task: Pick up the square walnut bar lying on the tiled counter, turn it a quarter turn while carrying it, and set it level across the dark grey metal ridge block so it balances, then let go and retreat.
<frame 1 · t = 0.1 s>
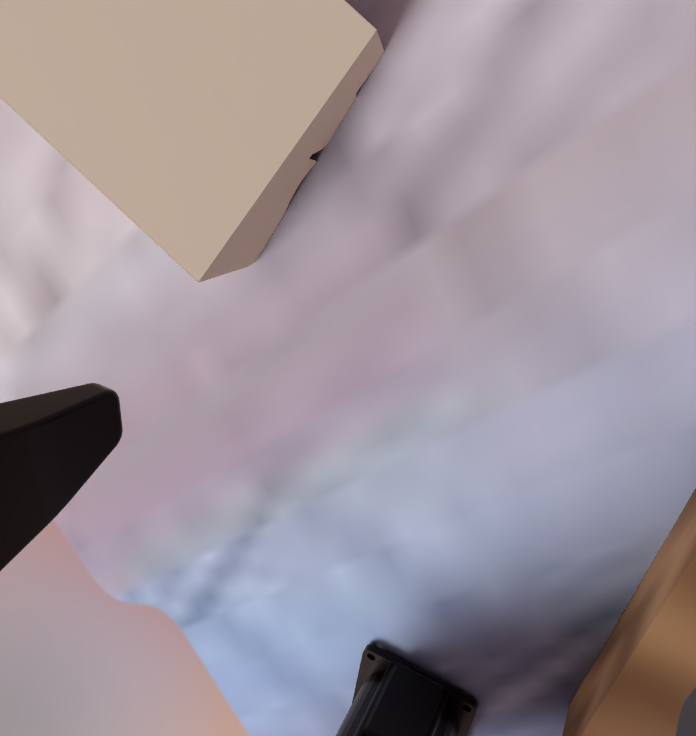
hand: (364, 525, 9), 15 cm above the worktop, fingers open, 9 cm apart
walnut bar: (682, 619, 25), on the worktop
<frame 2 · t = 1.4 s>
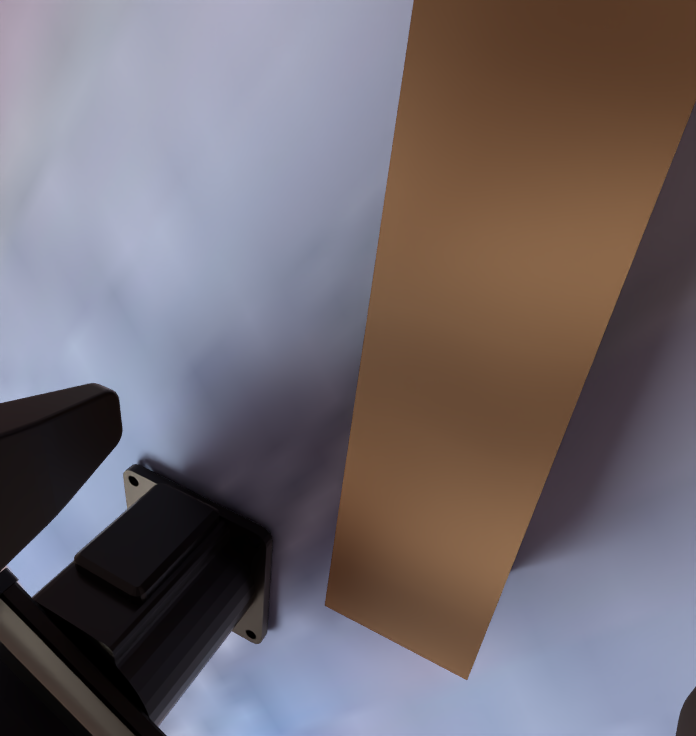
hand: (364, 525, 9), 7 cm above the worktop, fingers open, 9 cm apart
walnut bar: (513, 306, 15), on the worktop
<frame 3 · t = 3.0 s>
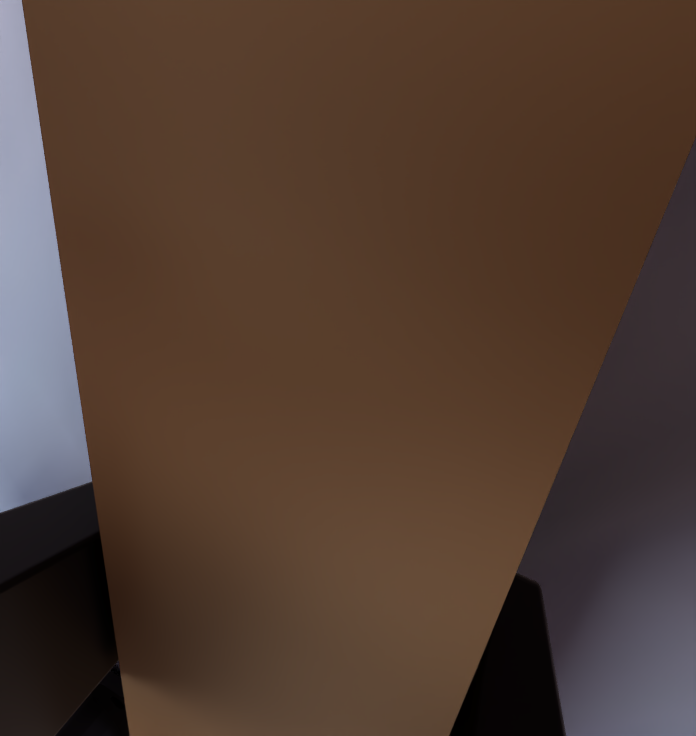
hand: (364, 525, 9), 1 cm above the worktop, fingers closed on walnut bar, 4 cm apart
walnut bar: (398, 475, 10), on the worktop, touching gripper
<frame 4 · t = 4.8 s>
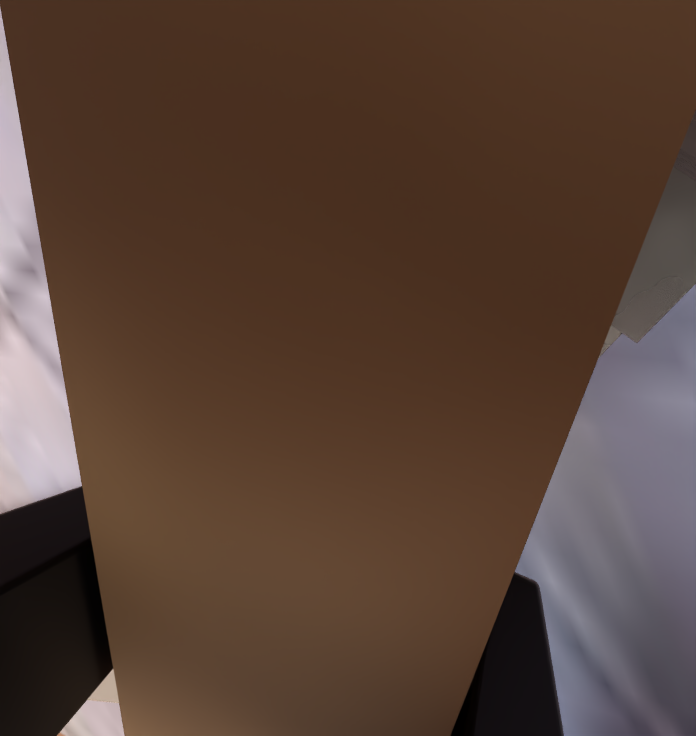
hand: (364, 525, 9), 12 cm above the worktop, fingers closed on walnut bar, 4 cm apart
ridge block: (533, 108, 16), on the worktop
walnut bar: (396, 480, 10), point 11 cm above the worktop, touching gripper
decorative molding: (44, 590, 46), on the worktop
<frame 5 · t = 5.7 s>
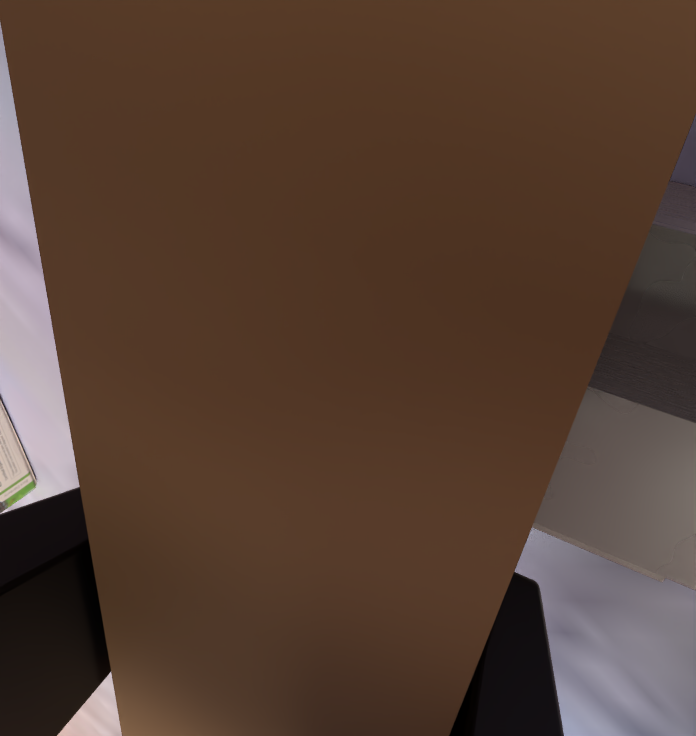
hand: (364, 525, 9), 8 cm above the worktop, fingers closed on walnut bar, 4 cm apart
ridge block: (507, 303, 15), on the worktop
walnut bar: (395, 479, 10), point 7 cm above the worktop, touching gripper
when the fingers open (7 cm above the worktop, at t = 6.6 s): walnut bar stays where it is, resting on ridge block.
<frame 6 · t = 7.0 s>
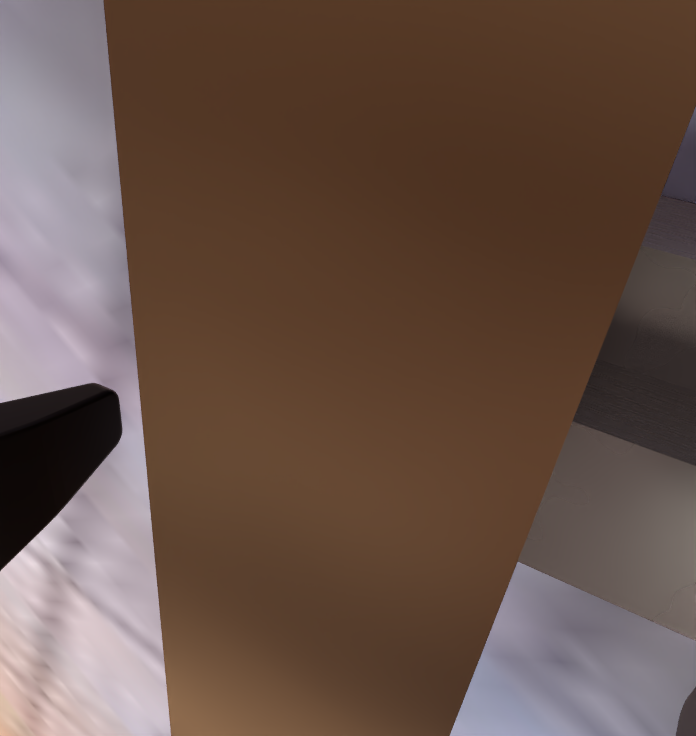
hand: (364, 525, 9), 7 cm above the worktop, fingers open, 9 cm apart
ridge block: (498, 322, 14), on the worktop
walnut bar: (417, 448, 10), point 5 cm above the worktop, touching ridge block
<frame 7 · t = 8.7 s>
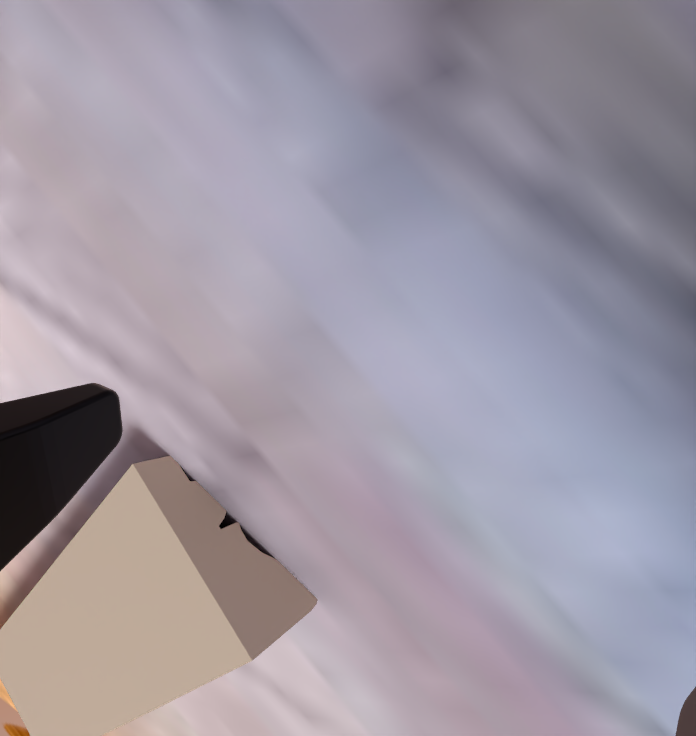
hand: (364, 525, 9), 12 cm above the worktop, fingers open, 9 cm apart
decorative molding: (127, 611, 42), on the worktop
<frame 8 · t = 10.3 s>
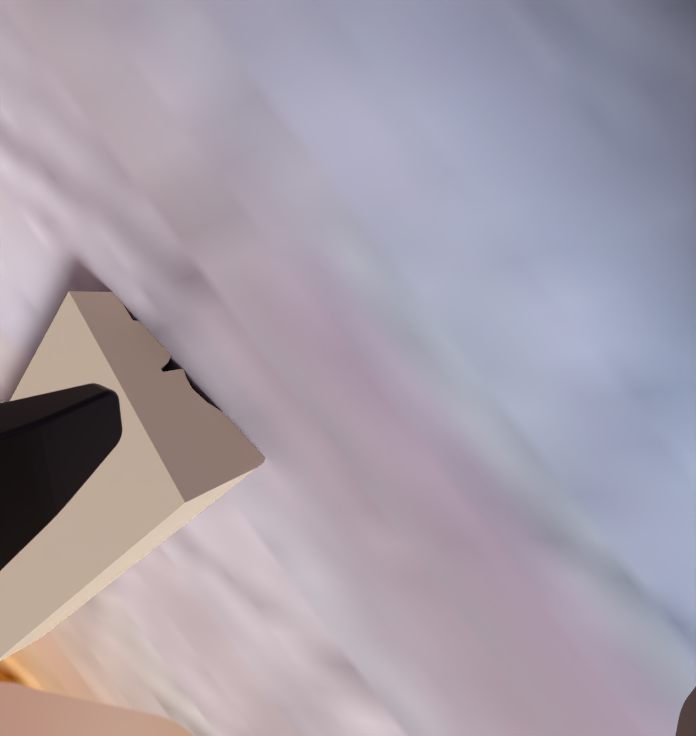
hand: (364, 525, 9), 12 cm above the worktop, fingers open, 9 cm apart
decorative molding: (75, 498, 39), on the worktop
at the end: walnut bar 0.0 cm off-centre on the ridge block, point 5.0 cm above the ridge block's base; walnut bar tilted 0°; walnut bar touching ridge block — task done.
